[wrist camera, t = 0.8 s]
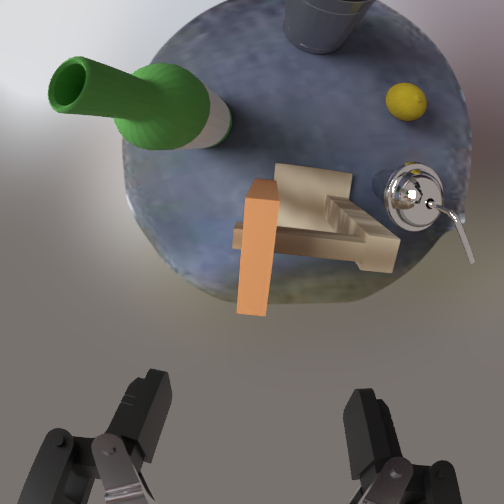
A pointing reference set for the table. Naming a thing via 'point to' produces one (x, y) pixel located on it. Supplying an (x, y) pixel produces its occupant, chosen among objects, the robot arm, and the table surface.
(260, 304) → the c link
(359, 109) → the table surface
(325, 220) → the hook stand
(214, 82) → the table surface
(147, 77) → the wine bottle
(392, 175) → the cup with straw
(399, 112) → the lemon
